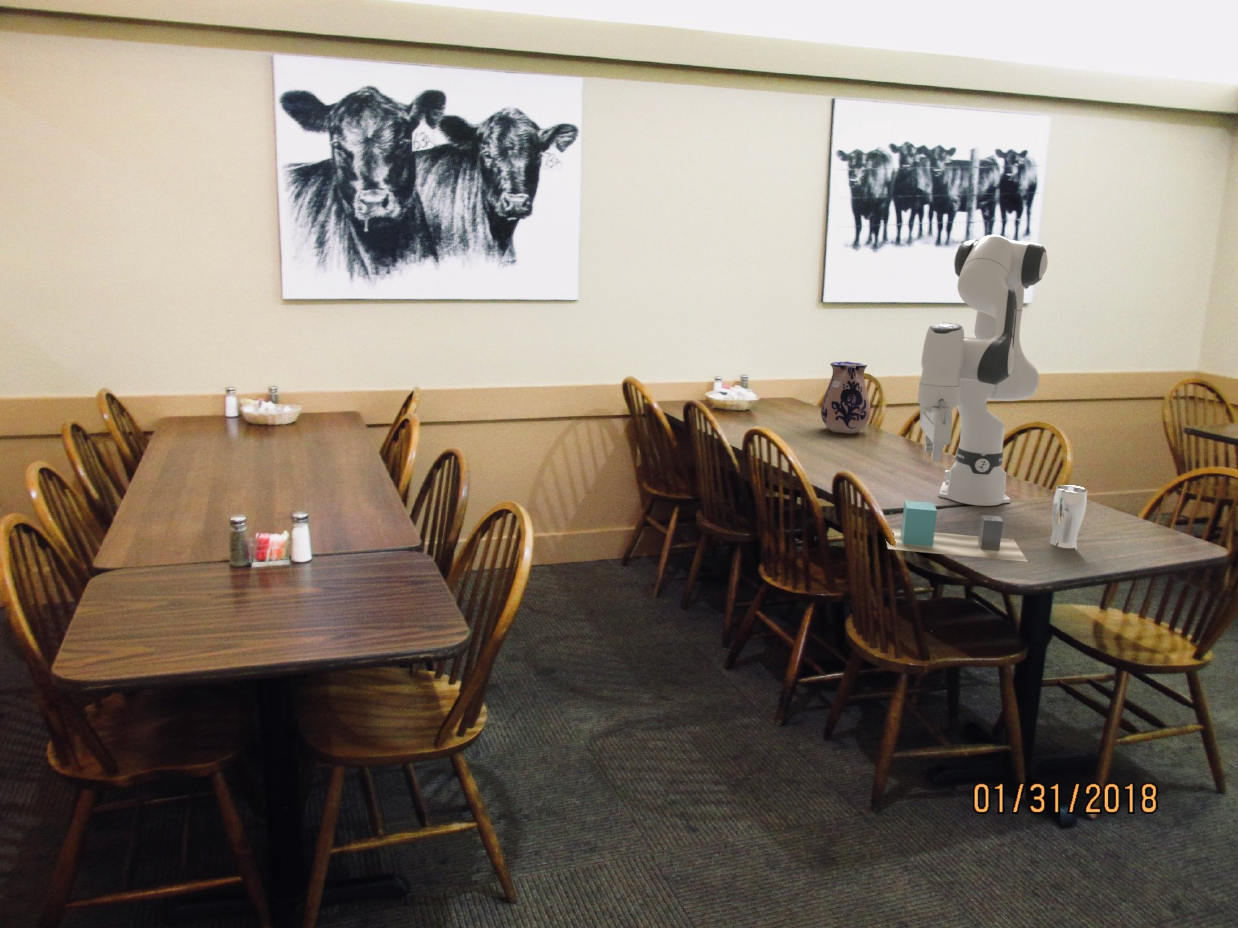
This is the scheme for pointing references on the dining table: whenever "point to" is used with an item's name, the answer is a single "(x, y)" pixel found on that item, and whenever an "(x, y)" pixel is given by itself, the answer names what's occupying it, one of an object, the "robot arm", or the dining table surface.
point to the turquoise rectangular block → (918, 523)
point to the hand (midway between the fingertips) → (932, 456)
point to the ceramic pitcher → (846, 399)
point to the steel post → (990, 532)
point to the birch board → (961, 547)
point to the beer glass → (1067, 515)
